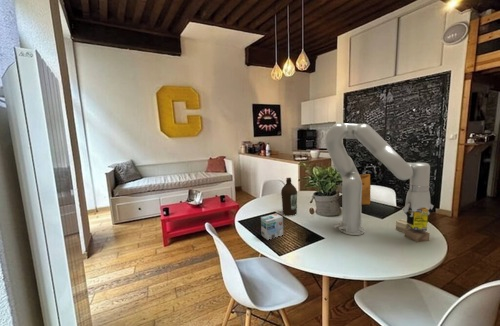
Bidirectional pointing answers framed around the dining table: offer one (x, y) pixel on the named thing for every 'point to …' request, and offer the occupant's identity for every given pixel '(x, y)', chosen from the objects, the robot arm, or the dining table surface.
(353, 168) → the robot arm
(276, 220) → the light bulb box
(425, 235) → the walnut block
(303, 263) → the dining table surface
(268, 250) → the dining table surface
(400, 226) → the oak cube
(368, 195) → the coffee package
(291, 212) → the olive oil
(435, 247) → the dining table surface
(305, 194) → the dining table surface
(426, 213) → the supplement box
